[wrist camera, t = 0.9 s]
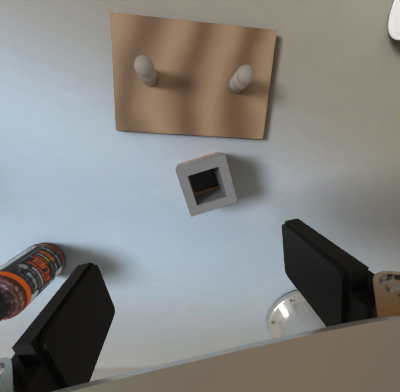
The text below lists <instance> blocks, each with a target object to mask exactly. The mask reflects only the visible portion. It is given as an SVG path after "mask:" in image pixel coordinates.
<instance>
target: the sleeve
mask: <svg viewBox="0 0 400 392" xmlns="http://www.w3.org/2000/svg"><path fill="white" fill-rule="evenodd" d="M212 168H213V169H214V172H215V176H216V179H217V183H218V186H215V187H212V188H209V189H206V190H202V191H199V192H196V193H194V189H193V186H192V183H191V180H190V177H189V176H190V175H193V174H196V173H200V172H203V171H206V170H209V169H212ZM176 173H177V176H178V179H179V182H180V185H181V188H182V191H183V194H184V197H185V200H186V203H187V206H188V209H189V212H190V215H191V216H195V215H198V214H201V213H204V212H207V211H211V210H214V209H217V208H220V207H224V206H227V205H230V204H233V203H236V202H238V201H237V197H236V194H235V190H234V186H233V182H232V178H231V175H230V171H229V167H228V163H227V159H226V155H225V154H222V153H218V152H215V153H212V154H209V155H206V156H203V157H199V158H196V159H193V160H190V161H187V162H183V163H180V164H178V165H177V167H176Z"/></svg>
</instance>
